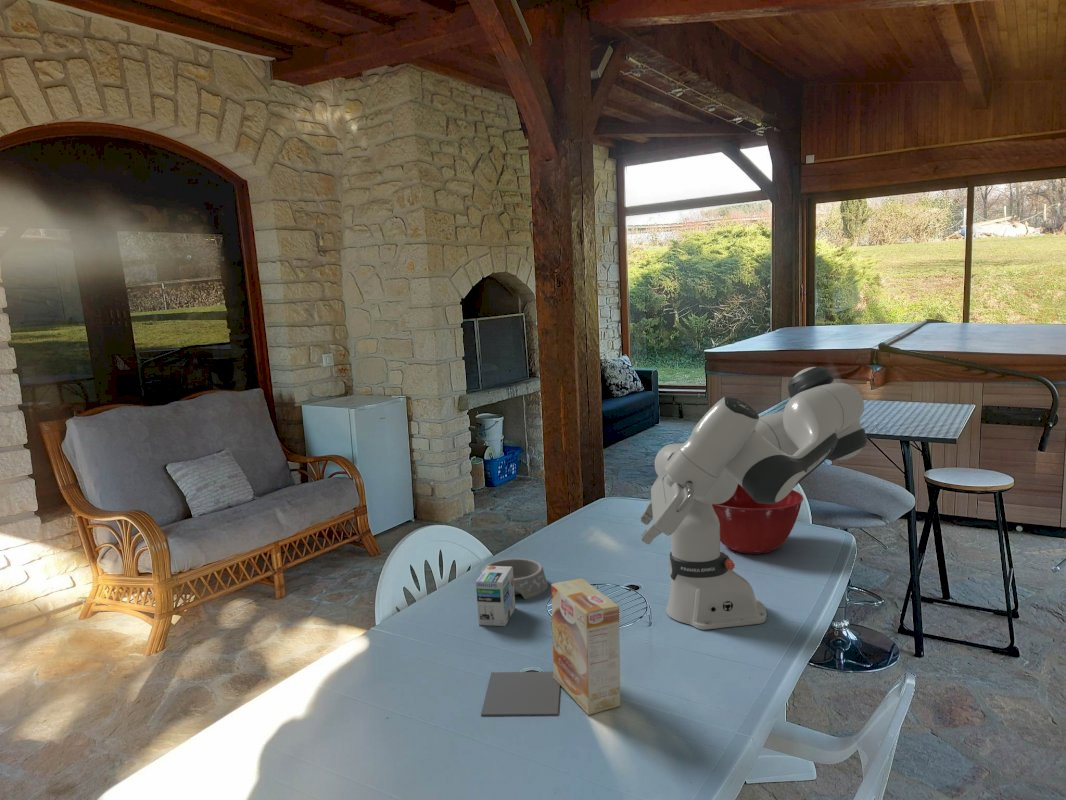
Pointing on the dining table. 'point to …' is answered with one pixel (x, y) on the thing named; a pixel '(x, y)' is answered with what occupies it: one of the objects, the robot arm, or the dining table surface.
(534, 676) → the mat
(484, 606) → the light bulb box
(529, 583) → the dog bowl
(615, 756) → the dining table surface
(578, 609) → the coffeecake box
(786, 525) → the mixing bowl
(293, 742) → the dining table surface
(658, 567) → the dining table surface
